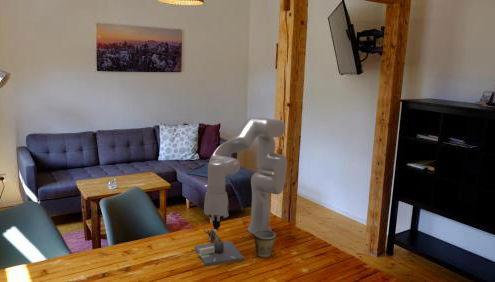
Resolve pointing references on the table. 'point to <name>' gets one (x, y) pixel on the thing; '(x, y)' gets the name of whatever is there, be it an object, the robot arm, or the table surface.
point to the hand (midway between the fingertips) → (216, 228)
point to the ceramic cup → (264, 242)
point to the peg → (213, 248)
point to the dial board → (228, 254)
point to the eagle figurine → (213, 235)
